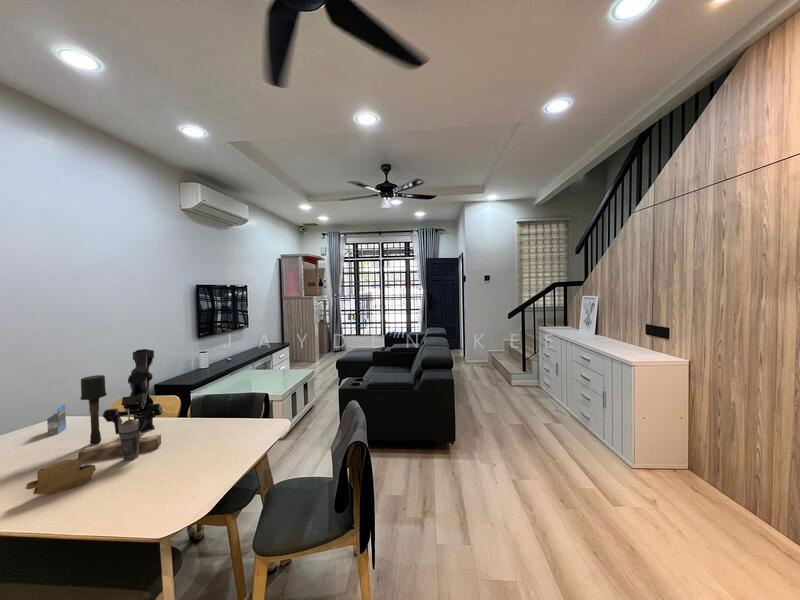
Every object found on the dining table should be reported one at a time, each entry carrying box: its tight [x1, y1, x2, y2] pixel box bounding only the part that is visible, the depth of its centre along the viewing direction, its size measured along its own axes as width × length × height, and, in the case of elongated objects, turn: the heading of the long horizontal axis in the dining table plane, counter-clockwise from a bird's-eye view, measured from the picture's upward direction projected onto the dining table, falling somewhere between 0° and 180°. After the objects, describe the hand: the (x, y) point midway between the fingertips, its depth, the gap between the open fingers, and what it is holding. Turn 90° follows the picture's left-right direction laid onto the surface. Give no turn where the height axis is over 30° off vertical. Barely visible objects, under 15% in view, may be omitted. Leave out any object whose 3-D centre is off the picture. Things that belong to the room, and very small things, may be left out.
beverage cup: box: [117, 409, 142, 462], centre depth 131 cm, size 7×7×20 cm
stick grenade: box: [79, 374, 108, 446], centre depth 145 cm, size 8×9×30 cm
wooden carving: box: [25, 458, 97, 495], centre depth 110 cm, size 16×5×10 cm, turn 141°
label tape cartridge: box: [46, 403, 67, 436], centre depth 160 cm, size 9×4×12 cm, turn 28°
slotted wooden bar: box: [77, 434, 162, 463], centre depth 136 cm, size 26×5×4 cm, turn 114°
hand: (128, 432), depth 129 cm, fingers closed on beverage cup, 7 cm apart
